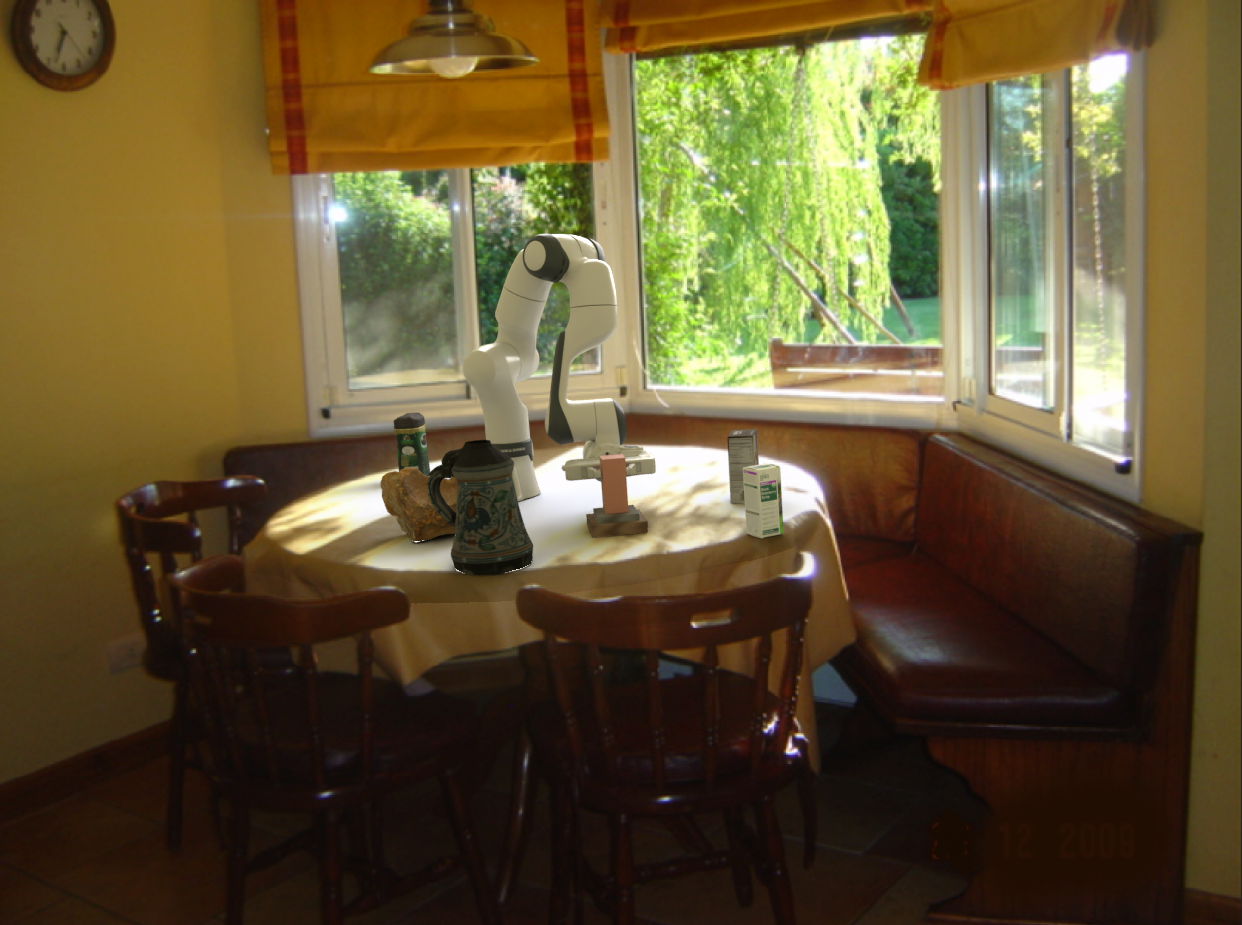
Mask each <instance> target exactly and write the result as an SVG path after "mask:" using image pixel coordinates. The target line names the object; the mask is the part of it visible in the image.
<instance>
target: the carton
mask: <svg viewBox="0 0 1242 925" xmlns="http://www.w3.org/2000/svg"><path fill="white" fill-rule="evenodd" d="M600 470H601V482H600V483H601V498H602V507H603V510H604V512H605V514H613V513H624V512H629V511H628V505H629V500H628V499H629V498H628V484H627V483H628V481H627V477H626V463H625V457H624V456H623V454H616V455H604V456H600Z"/></svg>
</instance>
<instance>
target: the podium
mask: <svg viewBox="0 0 1242 925" xmlns="http://www.w3.org/2000/svg"><path fill="white" fill-rule="evenodd" d="M592 510H593V511H592V513H586V514H585V517H586V526H587V528H588V530H589V532H590V535H591V537H592V538H593V537H594V538H604V537H605V538H606V537H612V536H623V535H624V536H625V535H633V534H636V535H637V534H646V533H647V532H648V533H649V526H648V525H649V524H648V520H647V518H646V517H645V514H643V513H642V511H641V510H640V508H639V509H638V508H636V506H635V505H634V504H628V511H629V512H624V513H613V514H605V512H604V510H603V506H601V507H593V508H592Z"/></svg>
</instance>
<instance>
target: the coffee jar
mask: <svg viewBox="0 0 1242 925" xmlns="http://www.w3.org/2000/svg"><path fill="white" fill-rule="evenodd" d="M393 429H394V435H395V442H396V452H397V464H398V466H397V467H398V468H397V469H398V472H399V471H400V470H401V469H404V468H409V467H412V468H417V469H419V470H420V472H421V473H422V474H424V475H425V476H428V475H429V473H430V472H431V468H430V467H431V466H430V460H429V452H428V451H429V450H428V445H427V444H428V443H427V434H426V430H427V429H426V420H425V416H424V415H423V414H422V413H420V412H406V413H404V414H402V415H400V416H398V417H397V418H395V419H394V420H393ZM428 477H429V476H428Z"/></svg>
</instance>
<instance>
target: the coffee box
mask: <svg viewBox="0 0 1242 925" xmlns="http://www.w3.org/2000/svg"><path fill="white" fill-rule="evenodd" d="M758 437H759V436H758V429H757V428H752V429H751V428H750V429H731V431H730V432H729V434H728V435H727V437H726V439H727V458H728V477H729V494H730V495H729V497H730V504H745V499H744V483H743V467H749V466H755V465H760V462H759V460H760V459H759V444H758V441H759V440H758Z"/></svg>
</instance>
